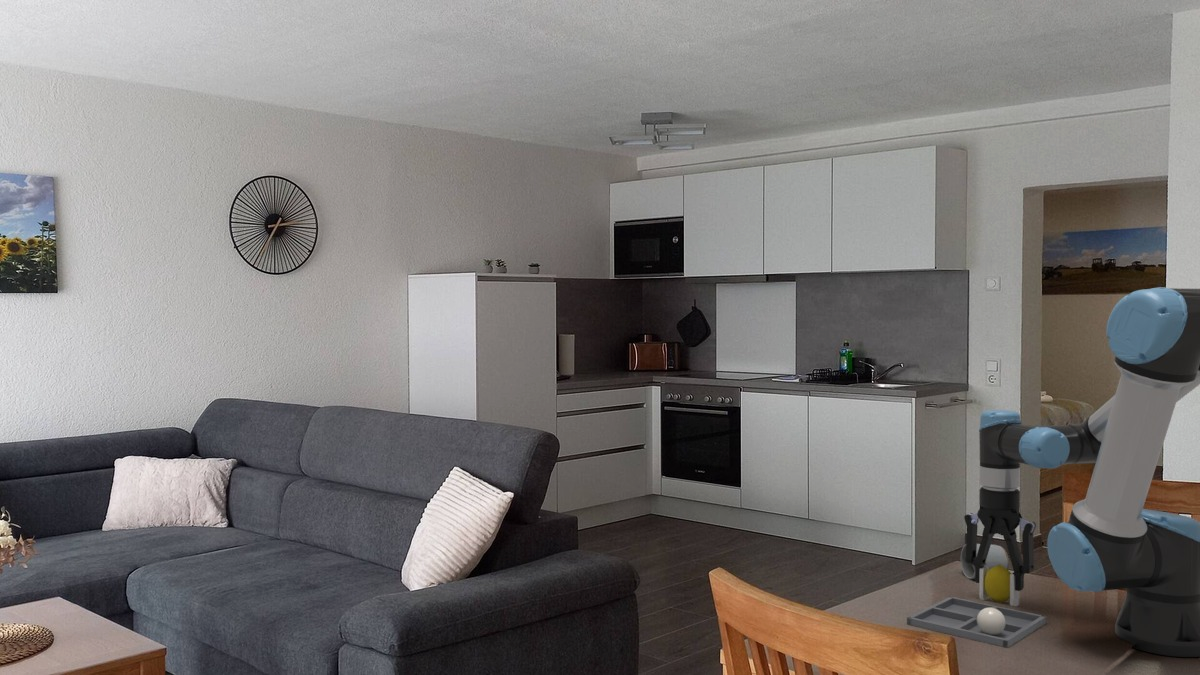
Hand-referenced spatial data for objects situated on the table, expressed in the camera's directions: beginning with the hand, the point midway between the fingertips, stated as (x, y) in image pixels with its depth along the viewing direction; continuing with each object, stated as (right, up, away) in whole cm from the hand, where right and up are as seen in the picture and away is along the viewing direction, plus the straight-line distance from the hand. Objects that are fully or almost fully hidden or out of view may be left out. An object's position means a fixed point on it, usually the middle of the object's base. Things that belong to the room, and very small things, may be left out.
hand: (999, 602), depth 194 cm
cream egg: (-10, 0, -21) cm, 24 cm away
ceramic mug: (+5, 0, +21) cm, 21 cm away
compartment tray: (-10, -1, -15) cm, 18 cm away
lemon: (0, 0, 0) cm, 0 cm away
